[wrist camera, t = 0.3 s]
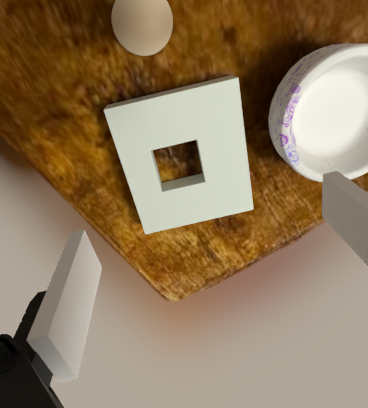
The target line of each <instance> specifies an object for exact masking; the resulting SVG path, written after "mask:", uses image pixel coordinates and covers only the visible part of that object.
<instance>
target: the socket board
mask: <svg viewBox="0 0 368 408" xmlns="http://www.w3.org/2000/svg"><path fill="white" fill-rule="evenodd" d="M104 113H105V116H106V119H107V122H108V125H109V128H110V131H111V134H112V137H113V140H114V143H115V146H116V149H117V152H118V155H119V158H120V161H121V164H122V167H123V170H124V172H125V175H126V178H127V181H128V184H129V187H130V190H131V193H132V196H133V199H134V202H135V205H136V208H137V211H138V214H139V217H140V220H141V223H142V226H143V229H144V232H145V234H149V233H153V232H158V231H162V230H166V229H171V228H175V227H179V226H184V225H188V224H192V223H197V222H201V221H206V220H210V219H214V218H219V217H223V216H227V215H232V214H236V213H240V212H245V211H249V210H253V200H252V191H251V183H250V174H249V165H248V157H247V148H246V139H245V130H244V122H243V113H242V104H241V95H240V87H239V78H238V77H236V76H234V75H230V76H226V77H221V78H217V79H213V80H209V81H205V82H201V83H196V84H192V85H188V86H184V87H180V88H176V89H172V90H167V91H163V92H159V93H155V94H151V95H147V96H142V97H138V98H134V99H130V100H126V101H122V102H118V103H113V104H109V105H107V106H106V107H105V108H104ZM193 140H196V144H197V149H198V154H199V159H200V164H201V169H202V174H197V175H193V176H189V177H185V178H180V179H176V180H172V181H167V182H163V183H162V182H161V179H160V175H159V172H158V168H157V164H156V161H155V157H154V154H153V150H155V149H159V148H163V147H167V146H172V145H176V144H180V143H184V142H189V141H193Z"/></svg>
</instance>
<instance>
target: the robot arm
mask: <svg viewBox="0 0 368 408" xmlns="http://www.w3.org/2000/svg"><path fill="white" fill-rule="evenodd" d="M322 217H323V218H324V219H325V220H326V222H327V223H328V224H329V225H330V226H331V227H332V228H333V229H334V230H335V231H336V232H337V233H338V234H339V235H340V236H341V237H342V239H343V240H344V241H345V242H346V243H347V244H348V245H349V246H350V247H351V248H352V249H353V250H354V251H355V252H356V253H357V255H358V256H359V257H360V258H361V259H362V260H363V261H364V262H365V263H366V264H367V265H368V193H367V192H366V191H364V190H363V189H361V188H360V187H359V186H357V185H356V184H355V183H353V182H352V181H350V180H349V179H348V178H346V177H345V176H344V175H342V174H341V173H340V172H338V171H334V172H329V173H325V174H323V194H322ZM101 269H102V267H101V265H100V262H99V260H98V258H97V256H96V254H95V251H94V249H93V247H92V245H91V243H90V241H89V239H88V237H87V234H86V232H85V230H81V231H77V232H72V233H71V234H70V236H69V238H68V241H67V243H66V246H65V248H64V250H63V253H62V255H61V258H60V260H59V262H58V265H57V268H56V270H55V272H54V274H53V277H52V280H51V282H50V284H49V287H48V289H47V291H43V292H39V293H37V295H36V296H35V297H34V298H33V299H32V301H31V302H30V303H29V305H28V308H27V310H26V314H24V316H23V318H22V322H21V323H20V325H19V327H18V330H17V331H16V333H15V336H14V338H12V337H11V336H10V335H8V334H1V335H0V408H64V407H63V405H62V404H61V402H60V400H59V399H58V397H57V396H56V394H55V392H54V391H53V389H52V388H51V387H50V382H51V379H52V376H54V378H55V379H56V380H57V382H58V383H63V382H67V381H71V380H76V379H78V374H79V369H80V365H81V361H82V355H83V351H84V347H85V342H86V338H87V333H88V328H89V324H90V319H91V314H92V310H93V306H94V301H95V296H96V292H97V287H98V283H99V278H100V274H101Z"/></svg>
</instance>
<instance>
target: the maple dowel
mask: <svg viewBox="0 0 368 408" xmlns="http://www.w3.org/2000/svg"><path fill="white" fill-rule="evenodd" d="M112 27H113V30H114V33H115V35H116V38H117V39H118V41H119V42H120V43H121V45H122V46H123V47H124V48H125V49H127V50H128V51H130V52H131V53H134V54H136V55H141V56H147V55H152V54H155V53H157V52H158V51H160V50H161V49H162V48H163V47H164V46H165V45H166V44H167V42H168V41H169V38H170V36H171V33H172V28H173V17H172V12H171V9H170V6H169V4H168V2H167V0H115V3H114V5H113V9H112Z"/></svg>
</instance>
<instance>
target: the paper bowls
mask: <svg viewBox="0 0 368 408" xmlns="http://www.w3.org/2000/svg"><path fill="white" fill-rule="evenodd" d="M268 121H269V132H270V137H271V140H272V142H273V145H274V147H275V149H276V150H277V152H278V153H279V155H280V156H281V157H282V158H283V159H284V160H285V161H286V162H287V163H288V164H289V165H290V166H291V167H292V168H293V169H294V170H295V171H296V172H298V173H299V174H301V175H302V176H304V177H306V178H308V179H310V180H314V181H318V182H323V174H325V173H329V172H334V171H338V172H340V173H341V174H342V175H344V176H345V177H346V178H348V179H349V180H350V179H353V178H356V177H359V176H361V175H363V174H365V173H367V172H368V44H352V43H349V44H334V45H330V46H327V47H323V48H320V49H318V50H315V51H313V52H312V53H310V54H308V55H306V56H305V57H303V58H301V59H300V60H299V61H298V62H297V63H296V64H295V65H294V66H293V67H292V68H291V69H290V70H289V71H288V73H287V74H286V75H285V77H284V78H283V80H282V81H281V83H280V84H279V86H278V88H277V90H276V92H275V95H274V97H273V99H272V103H271V107H270V111H269V119H268Z"/></svg>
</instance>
